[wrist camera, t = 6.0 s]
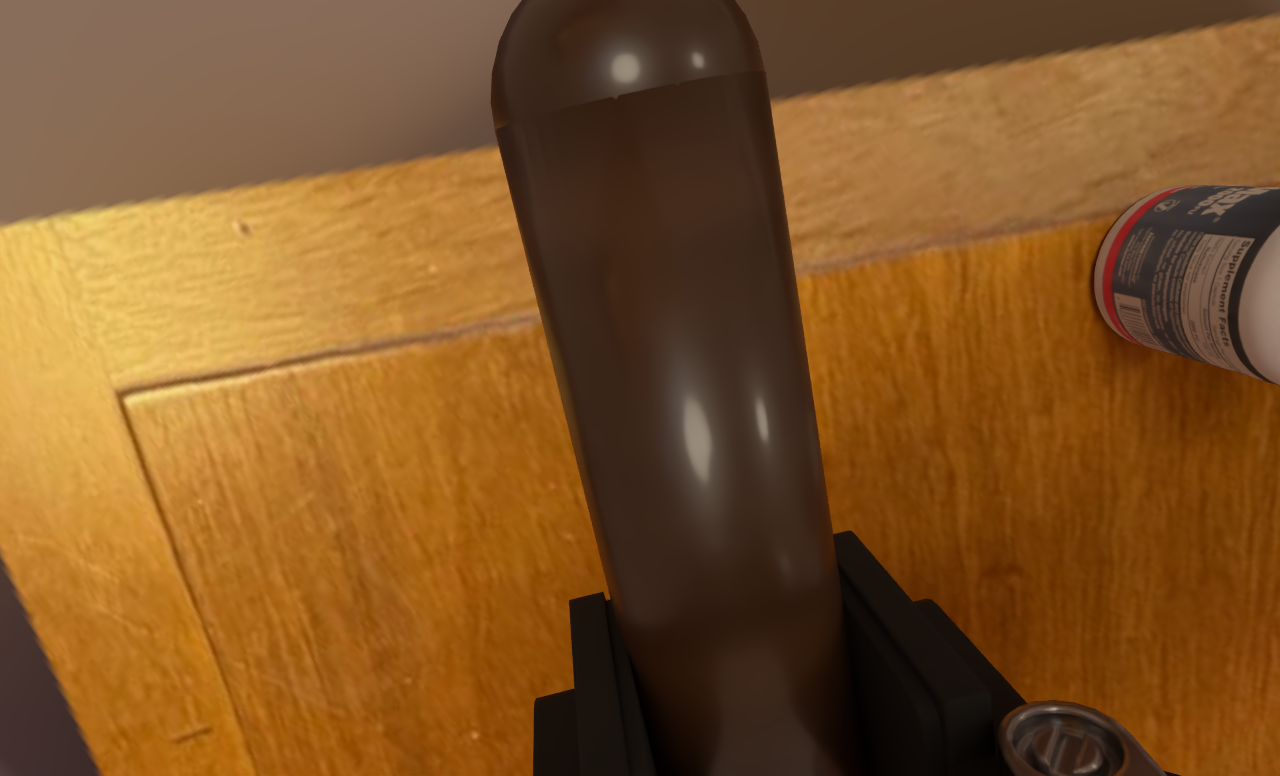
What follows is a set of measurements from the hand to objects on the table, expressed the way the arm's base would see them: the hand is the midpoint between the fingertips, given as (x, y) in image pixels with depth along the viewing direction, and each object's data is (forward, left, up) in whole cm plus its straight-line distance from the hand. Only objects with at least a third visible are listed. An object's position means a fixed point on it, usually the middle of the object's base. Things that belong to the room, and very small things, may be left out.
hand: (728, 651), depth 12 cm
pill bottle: (-18, +2, -13) cm, 22 cm away
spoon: (0, 0, 0) cm, 0 cm away
